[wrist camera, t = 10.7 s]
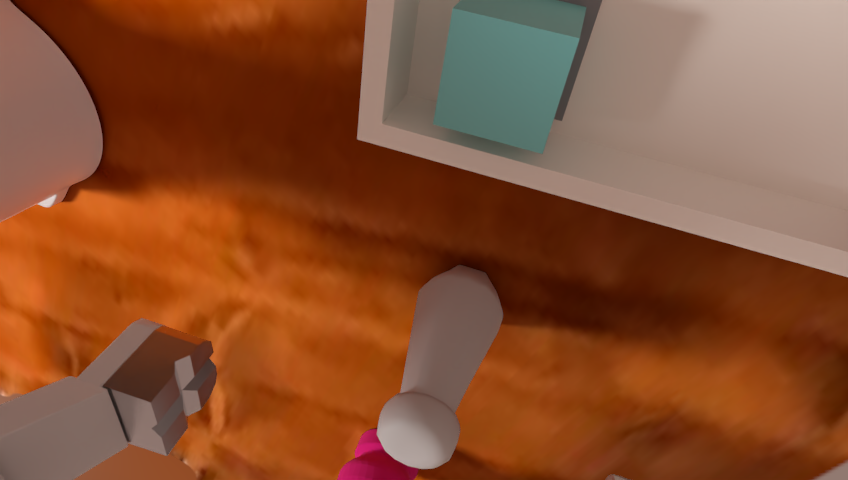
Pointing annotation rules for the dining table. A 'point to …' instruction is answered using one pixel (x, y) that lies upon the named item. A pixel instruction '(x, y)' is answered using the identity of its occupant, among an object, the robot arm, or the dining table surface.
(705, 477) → the dining table surface
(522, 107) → the cube
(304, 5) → the dining table surface
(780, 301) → the dining table surface
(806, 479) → the dining table surface
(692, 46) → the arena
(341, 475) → the pepper mill
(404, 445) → the salt shaker
